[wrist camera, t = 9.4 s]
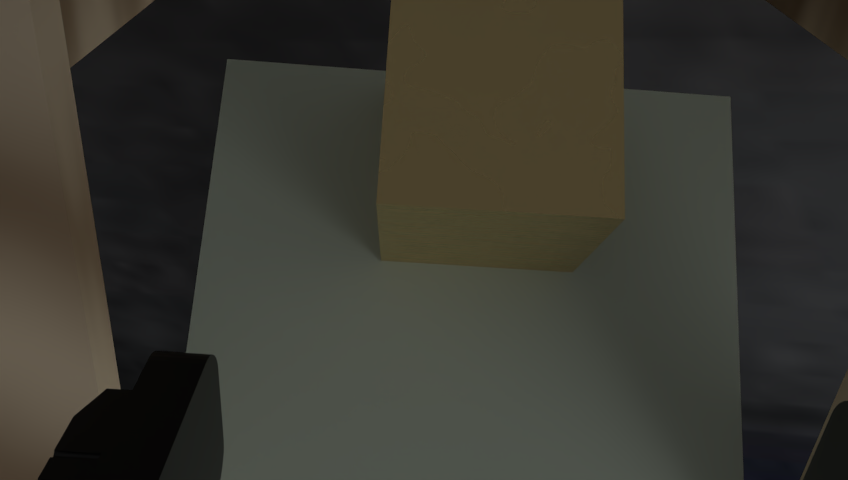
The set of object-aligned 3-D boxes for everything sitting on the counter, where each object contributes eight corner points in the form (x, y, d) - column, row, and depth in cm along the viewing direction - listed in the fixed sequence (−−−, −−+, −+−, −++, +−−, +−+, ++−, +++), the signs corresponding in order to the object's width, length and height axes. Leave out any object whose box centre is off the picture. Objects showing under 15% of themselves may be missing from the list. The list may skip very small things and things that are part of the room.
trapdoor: (700, 870, 21) (759, 951, 17) (154, 837, 20) (107, 912, 17) (687, 142, 26) (730, 97, 22) (249, 110, 26) (227, 59, 22)
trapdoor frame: (657, 484, 37) (764, 845, 25) (198, 453, 37) (73, 803, 24) (845, -128, 24) (1273, -16, 12) (135, -185, 24) (-206, -132, 11)
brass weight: (573, 96, 22) (623, -3, 17) (572, 272, 21) (624, 219, 16) (393, 84, 22) (392, -19, 17) (380, 260, 21) (375, 203, 16)
